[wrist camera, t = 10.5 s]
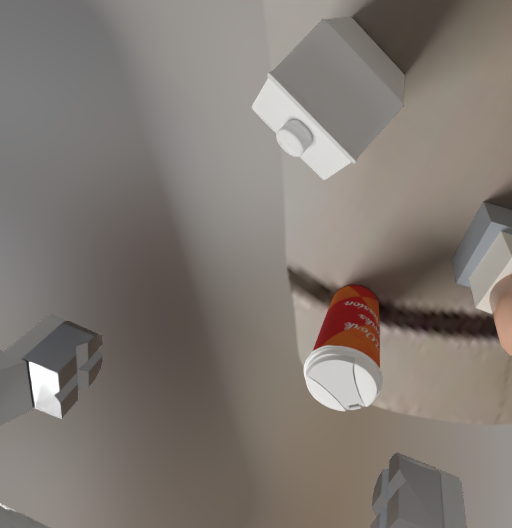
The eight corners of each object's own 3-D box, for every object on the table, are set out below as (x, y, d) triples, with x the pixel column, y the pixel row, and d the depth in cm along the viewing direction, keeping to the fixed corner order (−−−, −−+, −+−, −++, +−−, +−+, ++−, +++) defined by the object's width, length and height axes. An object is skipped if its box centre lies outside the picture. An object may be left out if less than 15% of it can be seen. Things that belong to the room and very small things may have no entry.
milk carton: (351, 16, 38) (311, 18, 22) (405, 75, 38) (404, 117, 23) (297, 80, 41) (230, 120, 26) (347, 132, 42) (312, 201, 27)
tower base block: (483, 201, 42) (491, 221, 38) (556, 222, 41) (573, 245, 37) (451, 259, 46) (456, 283, 42) (518, 279, 45) (529, 306, 41)
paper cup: (399, 318, 51) (396, 407, 40) (342, 335, 55) (324, 421, 43) (369, 267, 49) (358, 345, 37) (312, 288, 53) (285, 365, 41)
